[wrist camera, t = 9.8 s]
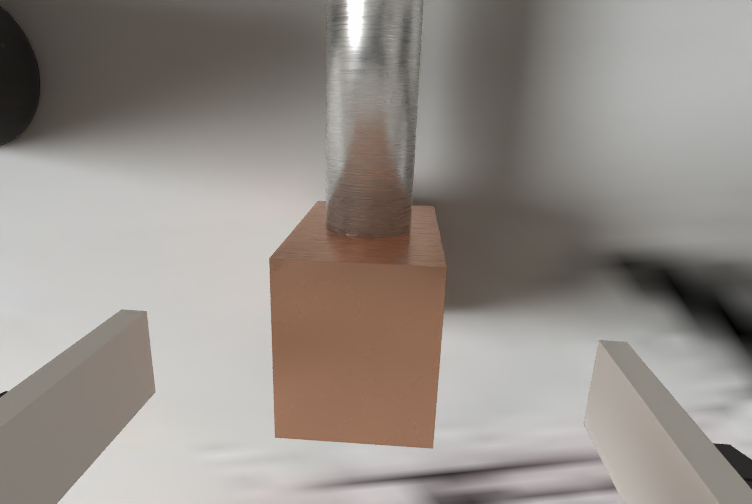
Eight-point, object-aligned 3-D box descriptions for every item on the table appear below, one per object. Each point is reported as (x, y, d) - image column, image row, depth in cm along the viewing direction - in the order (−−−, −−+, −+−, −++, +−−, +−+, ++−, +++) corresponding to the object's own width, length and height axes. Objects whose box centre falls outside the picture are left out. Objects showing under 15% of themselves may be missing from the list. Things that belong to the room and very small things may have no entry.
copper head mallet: (317, -265, 17) (243, -549, 10) (466, -265, 17) (512, -559, 9) (318, 327, 24) (275, 437, 16) (425, 333, 24) (432, 448, 16)
